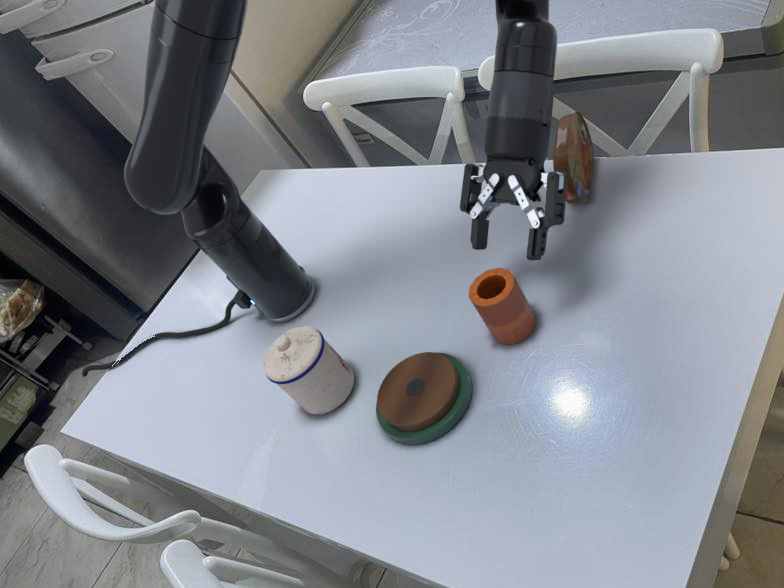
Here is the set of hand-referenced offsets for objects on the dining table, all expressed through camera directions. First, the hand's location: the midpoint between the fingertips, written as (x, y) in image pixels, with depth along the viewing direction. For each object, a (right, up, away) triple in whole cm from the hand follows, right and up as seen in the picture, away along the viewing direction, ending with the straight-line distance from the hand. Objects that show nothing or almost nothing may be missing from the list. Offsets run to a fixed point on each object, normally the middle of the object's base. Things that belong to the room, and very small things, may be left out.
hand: (505, 254), depth 87 cm
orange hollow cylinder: (+1, -9, +5) cm, 10 cm away
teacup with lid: (-26, -17, +13) cm, 33 cm away
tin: (+12, +13, +17) cm, 25 cm away
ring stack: (-10, -18, +4) cm, 21 cm away
